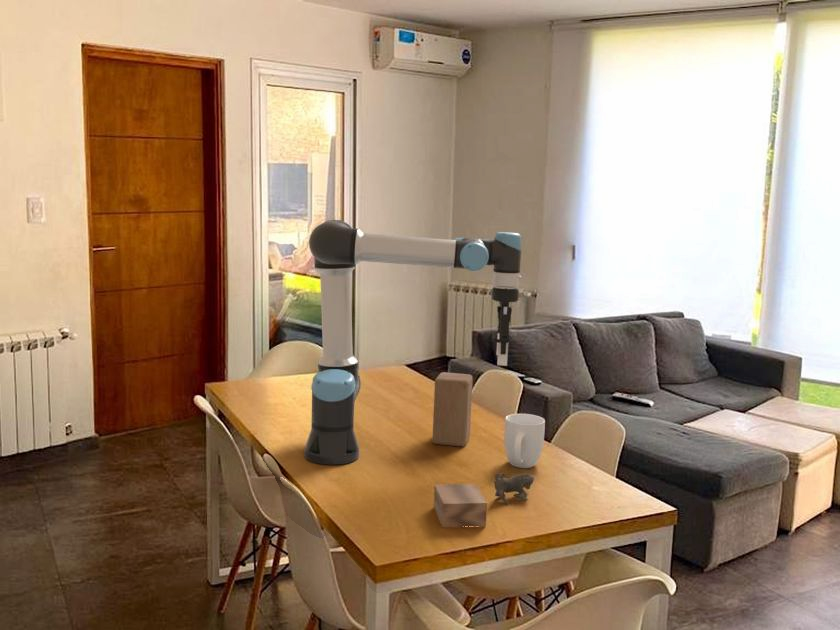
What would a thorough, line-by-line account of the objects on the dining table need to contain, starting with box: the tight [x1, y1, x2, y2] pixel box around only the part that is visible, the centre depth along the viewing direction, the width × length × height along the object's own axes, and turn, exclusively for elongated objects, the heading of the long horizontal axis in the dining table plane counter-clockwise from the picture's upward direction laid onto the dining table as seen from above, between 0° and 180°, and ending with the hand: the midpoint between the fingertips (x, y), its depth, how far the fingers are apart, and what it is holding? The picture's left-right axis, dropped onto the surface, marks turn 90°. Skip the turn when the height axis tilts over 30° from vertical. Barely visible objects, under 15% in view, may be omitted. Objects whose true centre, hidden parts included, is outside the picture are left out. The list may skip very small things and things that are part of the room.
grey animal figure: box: [493, 472, 535, 506], centre depth 212 cm, size 12×6×7 cm, turn 119°
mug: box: [503, 413, 546, 469], centre depth 235 cm, size 15×11×13 cm
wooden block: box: [431, 371, 473, 447], centre depth 255 cm, size 10×10×20 cm
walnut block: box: [433, 483, 488, 528], centre depth 199 cm, size 10×12×6 cm
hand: (501, 360), depth 247 cm, fingers open, 13 cm apart
